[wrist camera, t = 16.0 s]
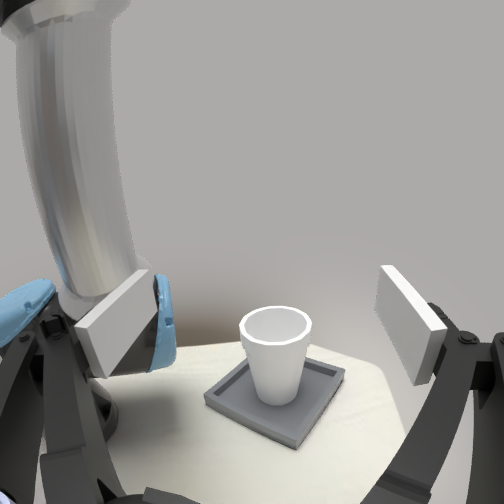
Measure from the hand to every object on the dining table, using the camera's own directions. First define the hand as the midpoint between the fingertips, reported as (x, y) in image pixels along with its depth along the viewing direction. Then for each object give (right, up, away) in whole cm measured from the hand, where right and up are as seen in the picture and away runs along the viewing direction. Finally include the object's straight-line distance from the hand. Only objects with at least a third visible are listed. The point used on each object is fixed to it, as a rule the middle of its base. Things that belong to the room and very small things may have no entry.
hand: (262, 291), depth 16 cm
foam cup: (+3, -20, +25) cm, 32 cm away
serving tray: (+3, -20, +26) cm, 33 cm away
